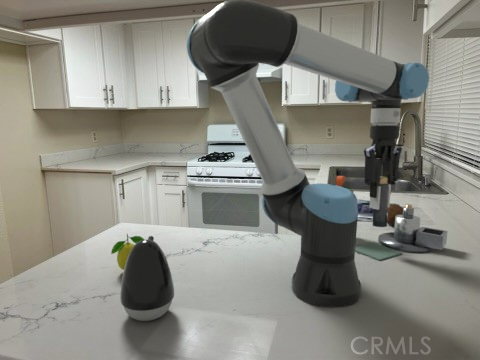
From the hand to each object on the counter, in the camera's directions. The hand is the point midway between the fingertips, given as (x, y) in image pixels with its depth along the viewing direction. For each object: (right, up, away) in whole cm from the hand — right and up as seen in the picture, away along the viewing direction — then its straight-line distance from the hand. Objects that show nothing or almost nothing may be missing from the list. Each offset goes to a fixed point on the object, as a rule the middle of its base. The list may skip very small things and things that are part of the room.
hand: (379, 207), depth 102 cm
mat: (0, -13, +2) cm, 13 cm away
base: (+12, -12, +9) cm, 19 cm away
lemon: (-68, -15, -12) cm, 70 cm away
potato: (+16, -9, +28) cm, 34 cm away
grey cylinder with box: (+15, -11, +7) cm, 20 cm away
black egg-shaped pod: (-58, -19, -31) cm, 68 cm away
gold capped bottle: (0, -5, 0) cm, 5 cm away
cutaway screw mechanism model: (-9, -11, +16) cm, 21 cm away
